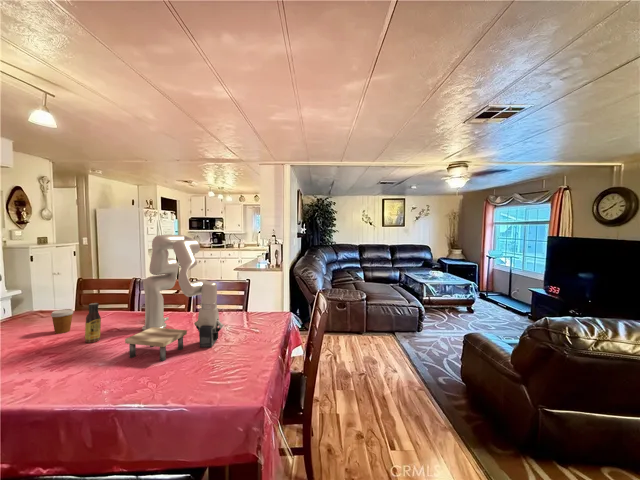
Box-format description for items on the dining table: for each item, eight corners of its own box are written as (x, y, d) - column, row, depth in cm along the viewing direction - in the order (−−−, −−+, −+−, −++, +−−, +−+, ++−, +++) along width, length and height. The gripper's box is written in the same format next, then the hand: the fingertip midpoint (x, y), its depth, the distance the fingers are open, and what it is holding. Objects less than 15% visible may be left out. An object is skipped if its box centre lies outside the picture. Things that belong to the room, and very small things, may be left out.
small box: (205, 339, 148) (205, 320, 148) (217, 339, 149) (218, 320, 149) (198, 347, 138) (198, 327, 138) (211, 347, 138) (212, 327, 138)
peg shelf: (152, 344, 141) (152, 327, 141) (186, 347, 138) (186, 330, 137) (125, 358, 125) (125, 339, 125) (163, 362, 122) (163, 342, 122)
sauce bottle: (91, 344, 140) (91, 305, 139) (81, 342, 141) (81, 305, 141) (103, 339, 146) (103, 302, 146) (94, 338, 148) (94, 301, 147)
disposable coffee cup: (47, 333, 153) (47, 312, 153) (68, 327, 162) (67, 307, 161) (56, 336, 149) (56, 314, 149) (77, 330, 158) (77, 309, 158)
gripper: (189, 306, 141) (189, 340, 141) (220, 309, 138) (220, 343, 138) (198, 302, 148) (198, 334, 149) (227, 305, 145) (227, 337, 146)
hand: (208, 338), depth 143 cm, fingers closed on small box, 7 cm apart
